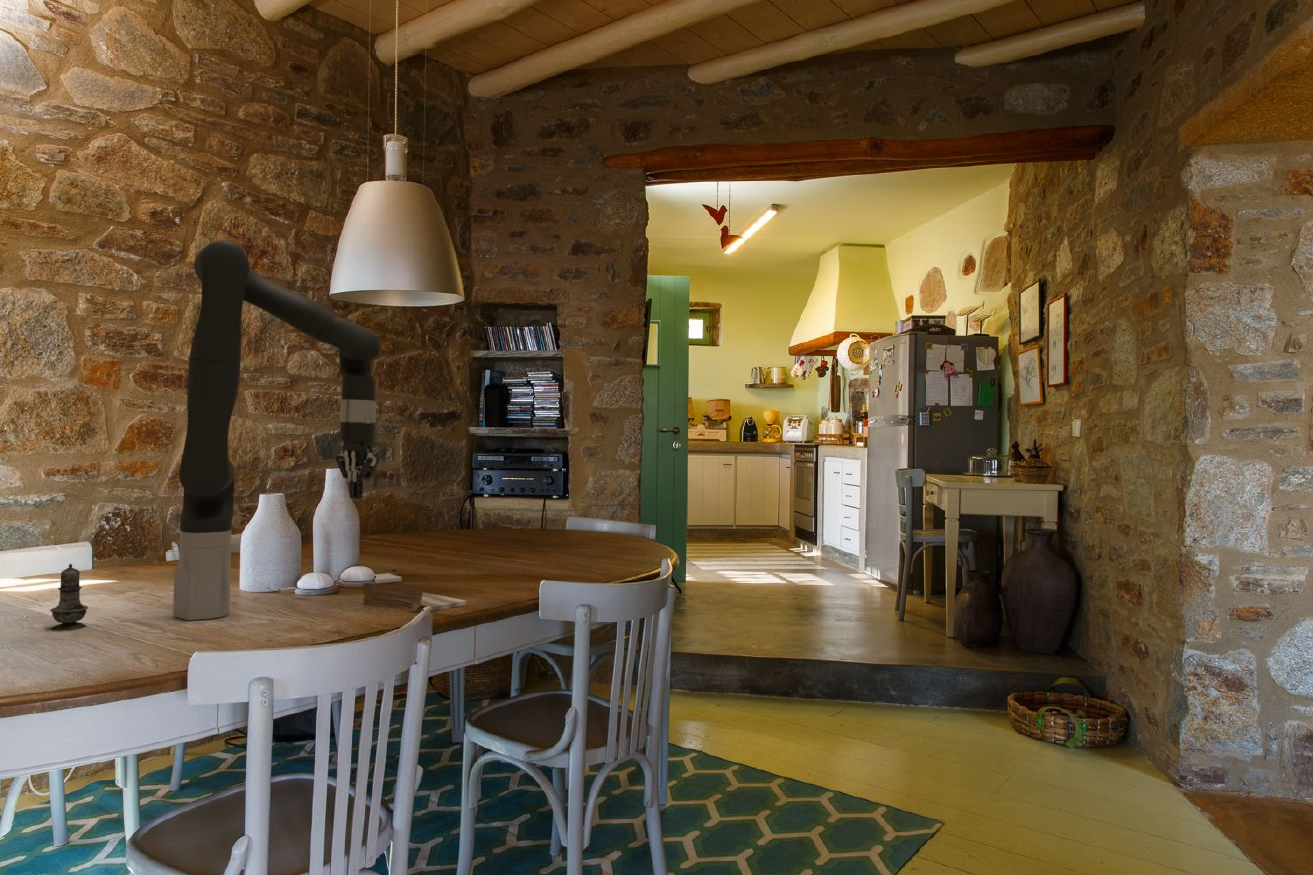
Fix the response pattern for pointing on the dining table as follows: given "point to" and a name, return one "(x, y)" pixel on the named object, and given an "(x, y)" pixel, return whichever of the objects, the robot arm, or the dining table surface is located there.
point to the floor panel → (439, 602)
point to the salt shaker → (69, 602)
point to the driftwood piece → (392, 596)
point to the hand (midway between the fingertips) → (355, 498)
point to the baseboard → (379, 579)
